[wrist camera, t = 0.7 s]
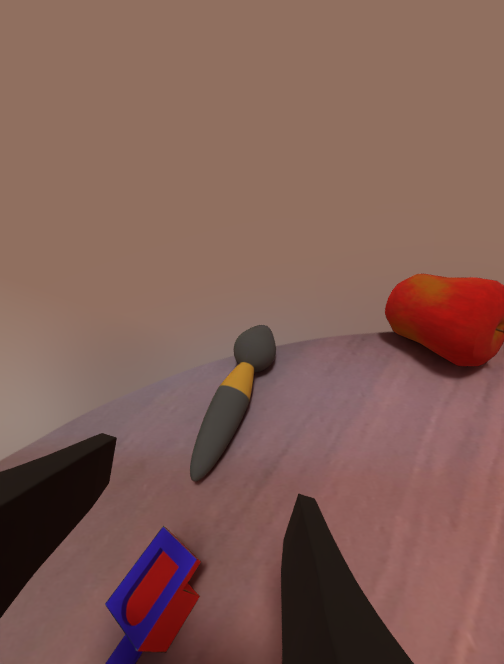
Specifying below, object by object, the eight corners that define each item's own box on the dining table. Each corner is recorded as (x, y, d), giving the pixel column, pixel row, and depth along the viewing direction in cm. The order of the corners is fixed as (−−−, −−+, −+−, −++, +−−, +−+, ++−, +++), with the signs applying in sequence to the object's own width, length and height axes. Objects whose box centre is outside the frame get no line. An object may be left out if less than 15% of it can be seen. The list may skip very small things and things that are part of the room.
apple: (406, 331, 39) (516, 371, 30) (367, 339, 35) (484, 390, 26) (426, 264, 36) (556, 288, 27) (387, 263, 32) (527, 291, 23)
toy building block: (183, 540, 25) (103, 656, 21) (163, 525, 22) (66, 655, 18) (215, 571, 23) (133, 705, 19) (196, 559, 20) (96, 713, 16)
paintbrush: (188, 481, 30) (235, 497, 30) (177, 474, 26) (232, 493, 25) (246, 324, 40) (283, 333, 40) (246, 302, 36) (286, 311, 35)
